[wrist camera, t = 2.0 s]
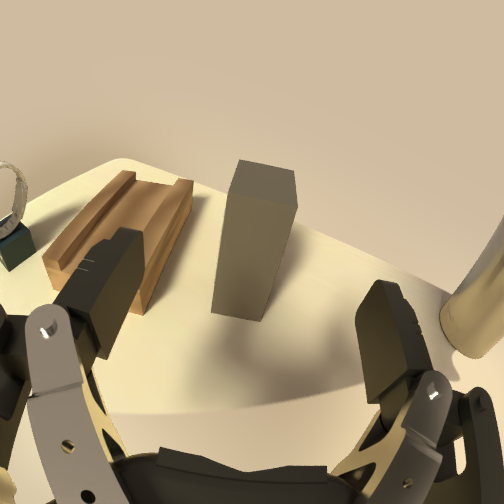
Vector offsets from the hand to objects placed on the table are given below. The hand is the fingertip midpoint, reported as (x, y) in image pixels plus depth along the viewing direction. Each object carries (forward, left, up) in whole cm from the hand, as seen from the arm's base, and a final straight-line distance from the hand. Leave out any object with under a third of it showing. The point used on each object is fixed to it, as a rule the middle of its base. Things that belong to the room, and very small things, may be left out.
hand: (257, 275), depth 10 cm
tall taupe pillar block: (0, -12, -14) cm, 19 cm away
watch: (+27, -10, -14) cm, 32 cm away
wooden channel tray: (+13, -16, -14) cm, 25 cm away
